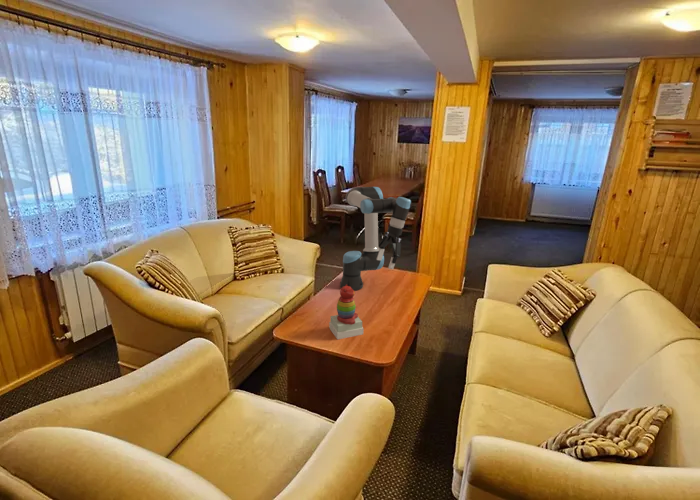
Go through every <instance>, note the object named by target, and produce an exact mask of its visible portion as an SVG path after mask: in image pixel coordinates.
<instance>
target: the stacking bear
mask: <svg viewBox="0 0 700 500" xmlns="http://www.w3.org/2000/svg"><path fill="white" fill-rule="evenodd" d="M339 294H340V297H339V298H338V299H337V303H336V311H337V315H338V316H337V320H338V321H340V322H342V323H345V324H350V325H352V324H355V319H356V318H357V317H359V315H358V313H356V308H357V306H356V301H355V298H354V296H355V295H356V292H355V291H354V290H353V289H352V288H351V287H350V286H347V285H345V286H344V287H342V288H341V287H340V290H339Z"/></svg>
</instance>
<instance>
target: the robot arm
mask: <svg viewBox="0 0 700 500" xmlns="http://www.w3.org/2000/svg"><path fill="white" fill-rule="evenodd" d="M345 201H346V203H347V204H348V205H350V206H351V207H358V208H359V209H360V211H361V213H362V214H364V216H363V217H364V248H363V249H362V252H361V251H359V250H349V251H347V252H345V253H344V254H343V256H342V277H341V279H340V282H339V287H340V289H341V288H342V287H344V286H345V285H347V286H350V287H351V288H352V289H353V290H354V291H360V290H362V289H363V288H364V282H363V278H362V276H361V273H362V272H367V271H376V270H381V269H382V268H383V266H384V263H385V255H384V254H385V248H386V247H387V246H389V244H390V245H391V251H392V255H391V258H390V260H389V261H390V262H389V264H388V268H387V269H389V270H394V268H395V265H396V262H397V259H398V258H401V253H402V252H401V248H402V238H400V237H399V236H402V233H403V229H404V226H405V223H406V219H407V217H408V214H409V211H410V208H411V204H412V200H411V199H410V198H406V197H403V196H398V197H396V198H395V197H391V196H390V197H388V198H384V195H383V191H382V189H381V188H380V187H379V186H357V187H356V186H355V187H353V188H350V189H349V190H348V191H347V192H346V194H345ZM382 213H383V214H384V213H386V214H387V213H388V214H389V213H392V214H391V218H390V220H389V225H388V228H387V231H385V233H384V235H383V236H382V238H381V240H380V241H379V221H378V219H379V218H378V217H379V216H378V215H379V214H382Z"/></svg>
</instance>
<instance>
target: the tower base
mask: <svg viewBox="0 0 700 500" xmlns="http://www.w3.org/2000/svg"><path fill="white" fill-rule="evenodd" d="M337 316H338V314H337V315H336V314H335V315H331V316H330V321H329V322H328V325H329V329H330V331H331V333H332V334H333V336H334V337H335V339H337V340H342V339H346V338H347V339H348V338H351V337H357V336H362V335H363V336H364V327H363V321H362V320H361V318H360V317H359V316H358V317H357V318H356V319H355V324H352V325H350V324H345V323H342V322H340V321H338V320H337Z"/></svg>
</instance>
